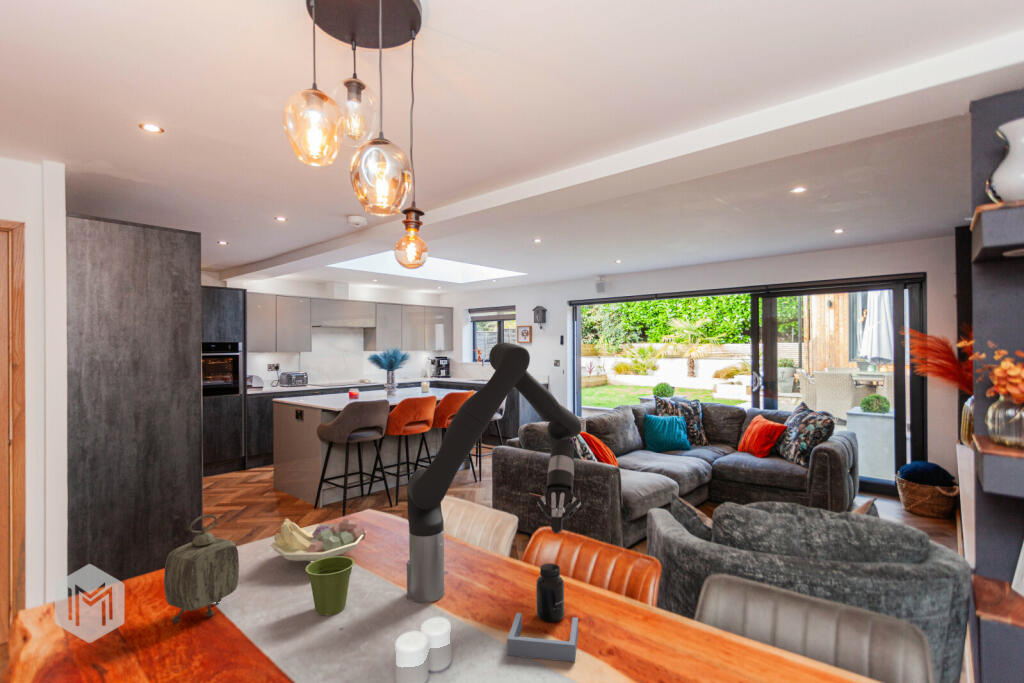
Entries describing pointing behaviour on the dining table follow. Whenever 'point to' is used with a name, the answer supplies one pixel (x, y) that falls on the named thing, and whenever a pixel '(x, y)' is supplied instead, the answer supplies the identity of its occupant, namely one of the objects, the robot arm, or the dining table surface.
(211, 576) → the tabletop clock
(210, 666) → the dining table surface
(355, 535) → the dish with food
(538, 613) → the supplement bottle
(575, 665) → the dining table surface
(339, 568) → the plant pot
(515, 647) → the bay
